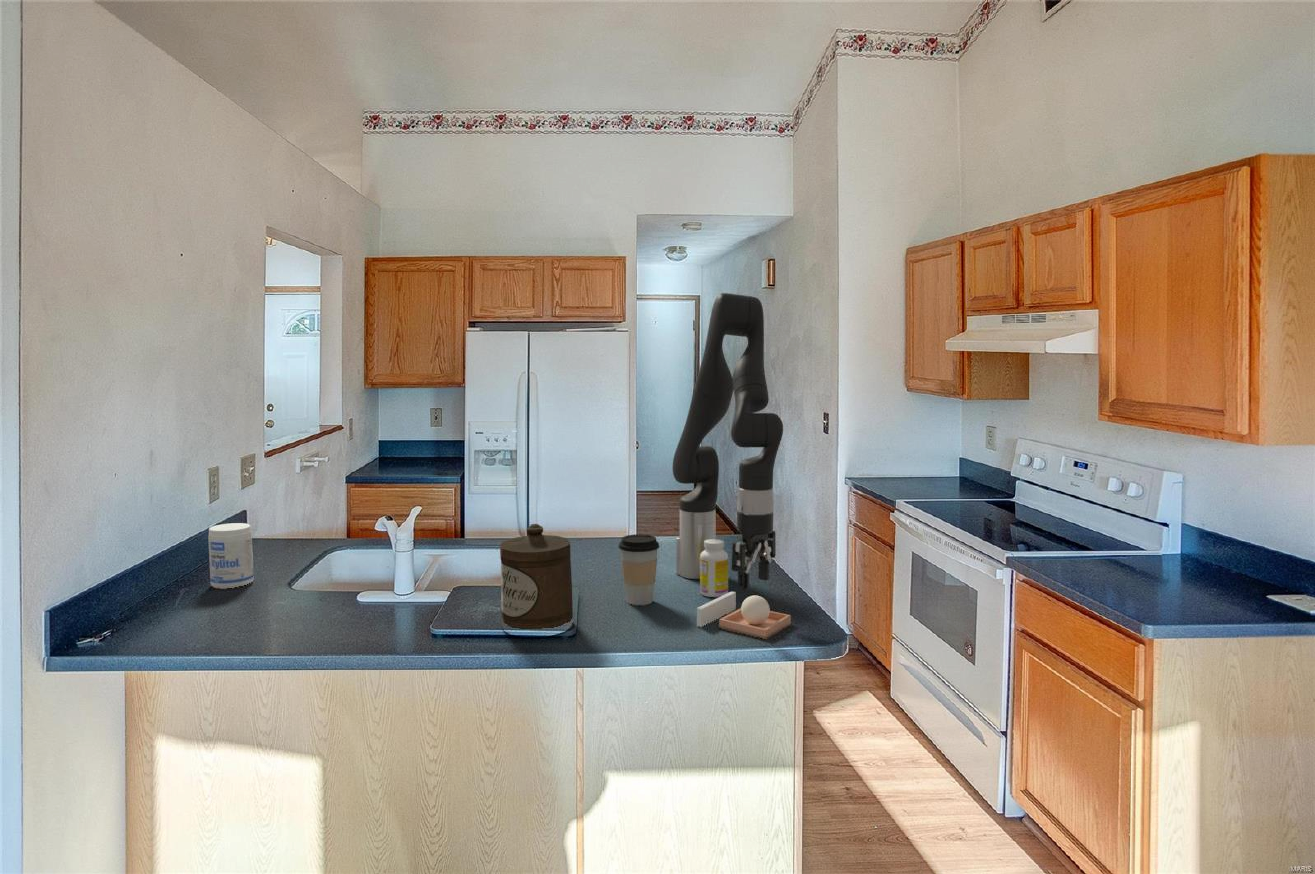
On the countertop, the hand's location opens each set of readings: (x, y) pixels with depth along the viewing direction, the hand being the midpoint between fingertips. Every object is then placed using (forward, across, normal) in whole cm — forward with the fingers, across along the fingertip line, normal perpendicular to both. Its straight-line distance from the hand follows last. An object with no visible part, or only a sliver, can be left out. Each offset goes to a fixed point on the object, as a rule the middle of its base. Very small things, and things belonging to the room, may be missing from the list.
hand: (753, 584), depth 170 cm
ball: (+8, 0, +1) cm, 8 cm away
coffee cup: (+10, +1, -29) cm, 31 cm away
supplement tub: (+11, +50, -120) cm, 131 cm away
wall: (+9, 0, -9) cm, 13 cm away
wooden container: (+10, +27, -37) cm, 47 cm away
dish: (+9, 0, +1) cm, 9 cm away
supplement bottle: (+10, -14, -18) cm, 25 cm away
